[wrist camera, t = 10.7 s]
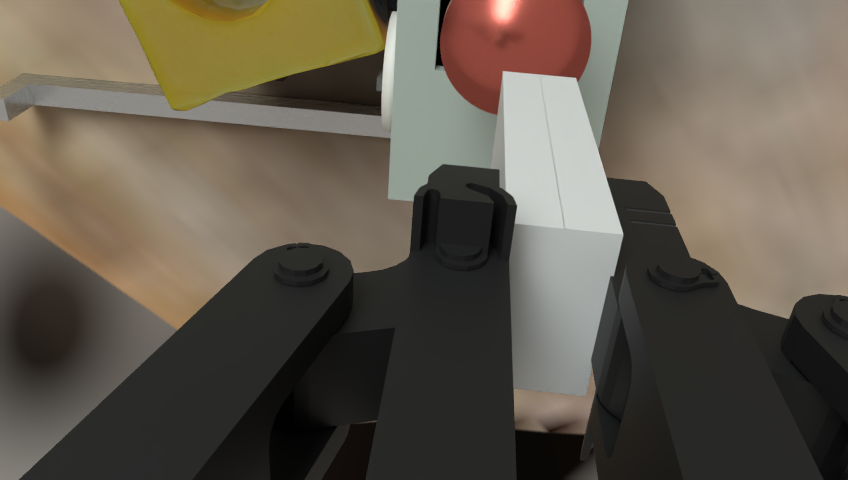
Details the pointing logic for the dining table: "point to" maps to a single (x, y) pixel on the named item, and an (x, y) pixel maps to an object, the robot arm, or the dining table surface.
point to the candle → (250, 41)
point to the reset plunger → (511, 43)
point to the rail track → (224, 109)
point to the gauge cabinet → (448, 111)
